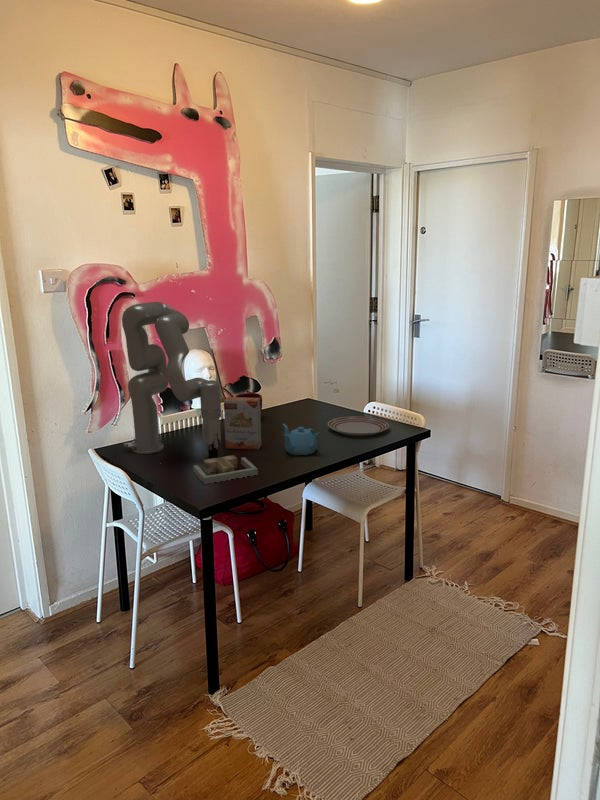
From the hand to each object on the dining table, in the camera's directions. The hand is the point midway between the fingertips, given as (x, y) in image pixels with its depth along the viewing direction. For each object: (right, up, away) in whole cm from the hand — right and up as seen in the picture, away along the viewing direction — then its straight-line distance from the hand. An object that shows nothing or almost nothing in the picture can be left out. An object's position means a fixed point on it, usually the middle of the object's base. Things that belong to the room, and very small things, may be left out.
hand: (213, 458), depth 234 cm
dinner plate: (+60, +9, +37) cm, 71 cm away
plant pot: (+9, +13, +55) cm, 57 cm away
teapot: (+33, +2, +9) cm, 35 cm away
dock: (+6, -4, -13) cm, 15 cm away
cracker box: (+10, +3, +16) cm, 19 cm away
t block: (+6, -4, -11) cm, 13 cm away
